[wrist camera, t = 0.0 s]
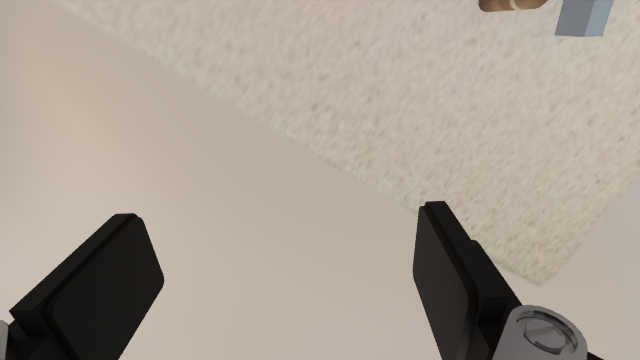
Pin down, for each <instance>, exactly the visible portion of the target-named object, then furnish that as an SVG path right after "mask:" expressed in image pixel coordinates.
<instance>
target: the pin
mask: <svg viewBox="0 0 640 360" xmlns="http://www.w3.org/2000/svg"><path fill="white" fill-rule="evenodd" d="M546 1H547V0H479V7H480V9H481V10H482V11H485V12H493V11H508V10H527V9H535V8H539V7H541V6H542V5H543V4H545V3H546Z"/></svg>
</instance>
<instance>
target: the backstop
mask: <svg viewBox="0 0 640 360" xmlns="http://www.w3.org/2000/svg"><path fill="white" fill-rule="evenodd" d="M613 1H614V0H564V2H563V6H562V10H561V14H560V17H559V21H558V25H557V29H556V33H555V35H557V36H576V37H592V36H602V35H603V32H604V29H605V26H606V23H607V20H608V16H609V13H610V10H611V7H612V4H613Z"/></svg>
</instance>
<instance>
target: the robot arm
mask: <svg viewBox="0 0 640 360" xmlns="http://www.w3.org/2000/svg"><path fill="white" fill-rule="evenodd" d="M413 277H414V281H415V284H416V286H417V289H418V292H419V295H420V298H421V301H422V304H423V306H424V309H425V312H426V315H427V318H428V320H429V323H430V326H431V329H432V332H433V335H434V338H435V341H436V343H437V346H438V349H439V352H440V355H441V358H442V360H603V359H601V358H599V357H597V356H595V355H593V354H591V353H590V352H588V350H587V344H586V340H585V338H584V337H583V335H582V333H581V332H580V331H579V330H578V329H577V328H576V326H575V325H574V324H573V323H571V322H570V321H569V320H567V319H566V318H565V317H563V316H562V315H560V314H558V313H556V312H554V311H552V310H550V309H546V308H543V307H540V306H534V305H525V306H524V305H522V304H521V302H520V301H519V300H518V298H517V296H515V294H514V292H513V291H512V289H511V288H510V287H509V285H508V284H507V282H506V281H505V279H504V278H503V277H502V275H501V274H500V272H499V271H498V269H497V268H496V267H495V265H494V264H493V262H492V261H491V260H490V258H489V257H488V255H487V254H486V252H485V251H484V250H483V248H482V247H481V245H480V244H479V243H478V242H477V241H476V240H471V239H470V237H469V236H468V234H467V233H466V231H465V230H464V229H463V227H462V226H461V224H460V223H459V221H458V220H457V218H456V217H455V215H454V214H453V212H452V211H451V209H450V208H449V206H448V205H447V204H446V202H445V201H430V202H426V203H425V206H420V208H419V214H418V223H417V234H416V242H415V252H414V261H413ZM163 284H164V276H163V273H162V270H161V268H160V265H159V262H158V259H157V257H156V254H155V251H154V249H153V246H152V243H151V241H150V238H149V235H148V232H147V230H146V227H145V224H144V222H143V220H142V219H141V218H140V217H138V216H137V215H136V214H134V213H130V214H129V213H128V214H115V215H114V216H112V217H111V218H110V219H109V220H108V221H107V222H106V223H104V224H103V225H102V226H101V227H100V228H99V229H98V230H97V231H96V232H95V233H94V234H92V235H91V236H90V237H89V238H88V239H87V240H86V241H85V242H84V243H83V244H81V245H80V246H79V247H78V248H77V249H76V250H75V251H74V252H73V253H72V254H71V255H69V256H68V257H67V258H66V259H65V260H64V261H63V262H62V263H61V264H60V265H58V266H57V267H56V268H55V269H54V270H53V271H52V272H51V273H50V274H49V275H48V276H46V277H45V278H44V279H43V280H42V281H41V282H40V283H39V284H38V285H37V286H36V287H35V288H33V289H32V290H31V291H30V292H29V293H28V294H27V295H26V296H25V297H24V298H23V299H21V300H20V301H19V302H18V303H17V304H16V305H15V306H14V307H13V308H11V309H10V310H9V312H10V313H11V315H12V316H13V318H14V319H15V320H14V321H13V322H12V323H11V324H10V325H8V324H7V323H6V322H4V321H2V320H0V360H118V359H119V358H120V356H121V355H122V353H123V351H124V350H125V348H126V346H127V345H128V343H129V341H130V340H131V338H132V337H133V335H134V333H135V332H136V330H137V328H138V327H139V325H140V323H141V322H142V320H143V319H144V317H145V315H146V313H147V312H148V310H149V309H150V307H151V305H152V304H153V302H154V300H155V299H156V297H157V295H158V294H159V292H160V291H161V289H162V287H163Z"/></svg>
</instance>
